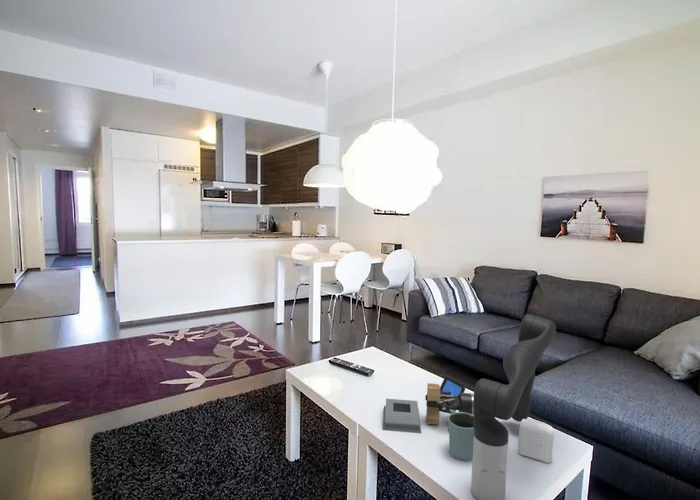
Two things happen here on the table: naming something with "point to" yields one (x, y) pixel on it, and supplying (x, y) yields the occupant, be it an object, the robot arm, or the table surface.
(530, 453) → the photo printer
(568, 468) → the table surface
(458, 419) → the teal cup
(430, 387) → the oak pin
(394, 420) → the metal socket
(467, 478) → the table surface
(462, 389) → the handheld game console
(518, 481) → the table surface
